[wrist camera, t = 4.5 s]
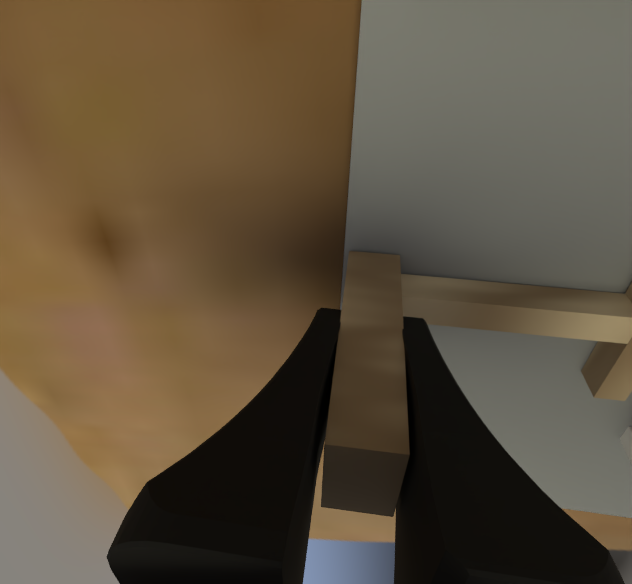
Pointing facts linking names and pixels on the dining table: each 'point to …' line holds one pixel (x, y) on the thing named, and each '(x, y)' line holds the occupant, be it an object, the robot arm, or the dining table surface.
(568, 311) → the rake
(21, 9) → the dining table surface
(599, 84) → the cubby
